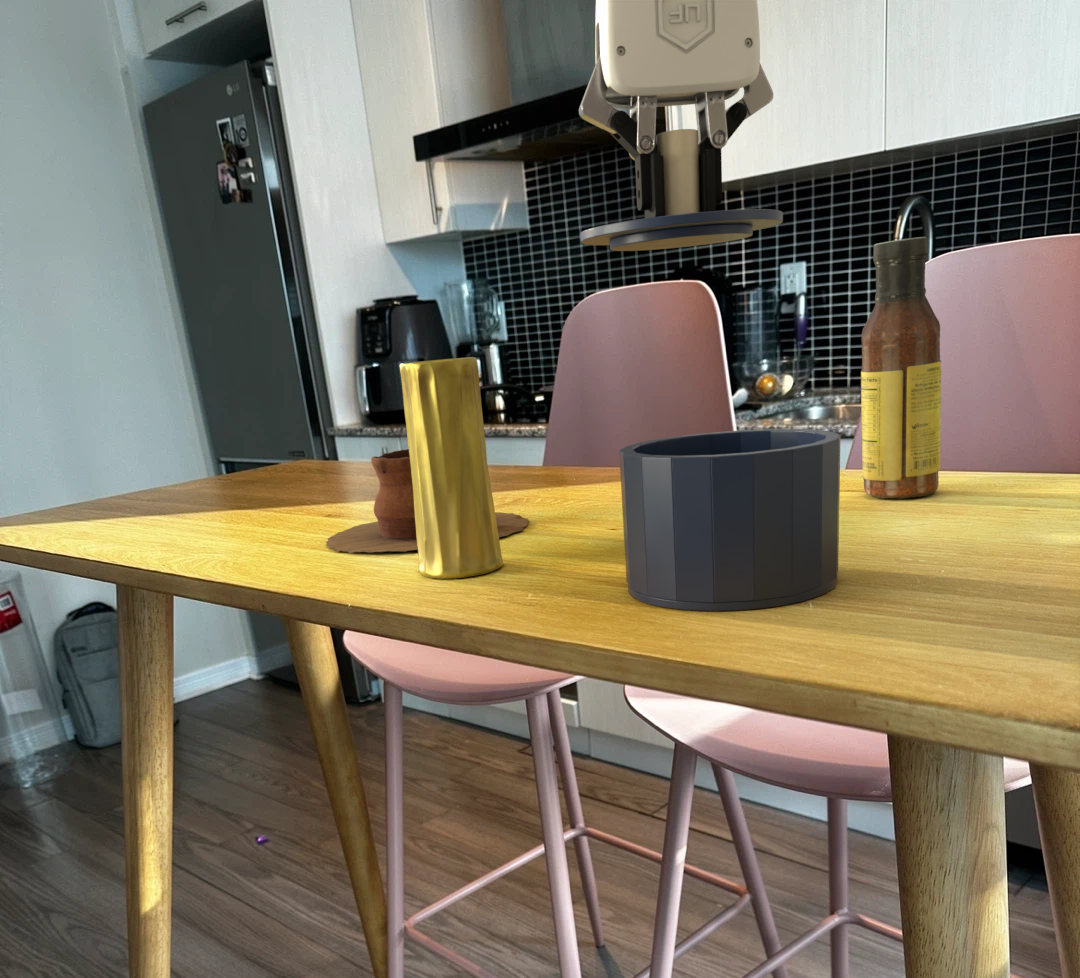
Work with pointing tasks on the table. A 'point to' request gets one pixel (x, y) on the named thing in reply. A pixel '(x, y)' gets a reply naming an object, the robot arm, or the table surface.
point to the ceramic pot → (398, 512)
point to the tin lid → (681, 208)
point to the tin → (731, 518)
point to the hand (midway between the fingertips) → (679, 217)
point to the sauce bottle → (901, 377)
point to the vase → (449, 469)
